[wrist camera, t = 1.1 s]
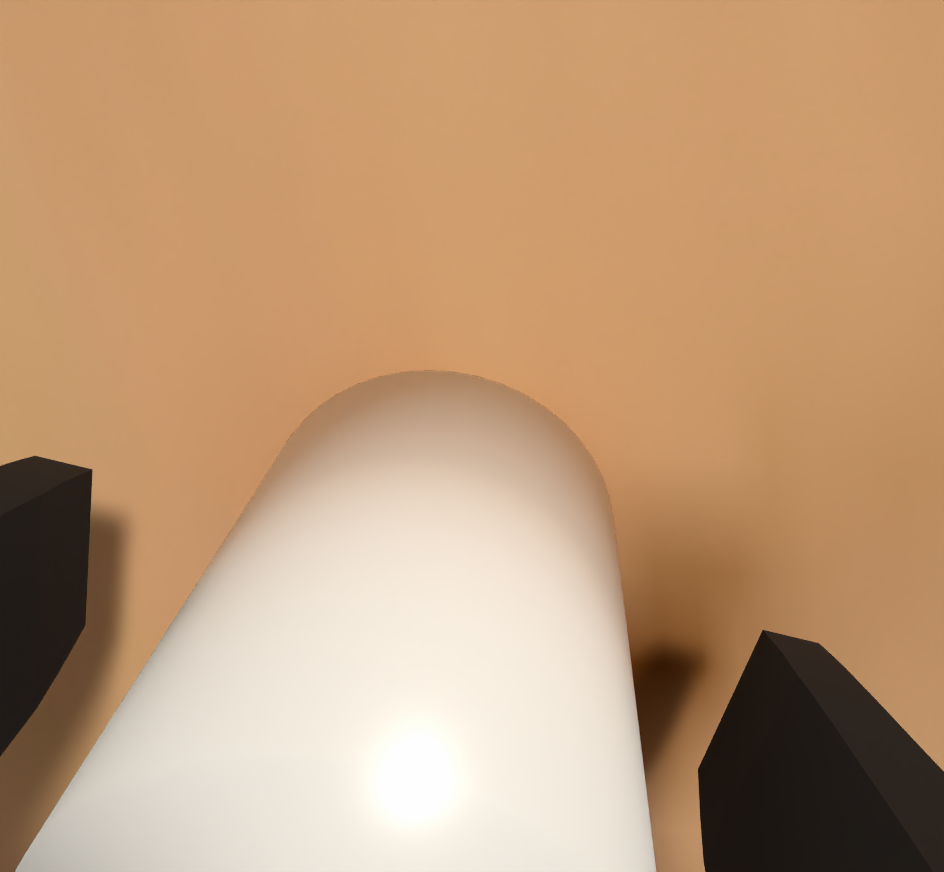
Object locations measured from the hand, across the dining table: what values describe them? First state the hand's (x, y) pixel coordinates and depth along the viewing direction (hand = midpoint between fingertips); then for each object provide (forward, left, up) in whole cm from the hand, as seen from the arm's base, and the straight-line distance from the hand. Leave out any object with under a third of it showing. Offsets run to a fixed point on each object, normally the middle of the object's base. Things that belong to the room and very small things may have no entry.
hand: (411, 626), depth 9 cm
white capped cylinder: (0, 0, -2) cm, 2 cm away
